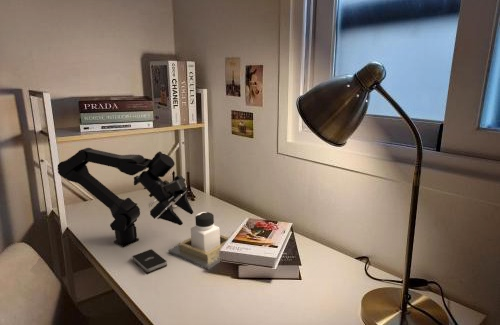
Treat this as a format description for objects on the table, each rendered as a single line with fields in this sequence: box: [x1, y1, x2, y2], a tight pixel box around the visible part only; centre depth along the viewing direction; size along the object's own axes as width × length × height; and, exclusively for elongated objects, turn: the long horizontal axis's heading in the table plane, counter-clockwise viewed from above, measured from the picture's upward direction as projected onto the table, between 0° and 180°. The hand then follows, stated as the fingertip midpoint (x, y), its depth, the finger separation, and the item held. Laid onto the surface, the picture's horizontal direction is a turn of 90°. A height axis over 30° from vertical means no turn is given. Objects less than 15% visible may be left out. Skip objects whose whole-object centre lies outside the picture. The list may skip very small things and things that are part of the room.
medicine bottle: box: [190, 211, 221, 252], centre depth 118 cm, size 7×7×12 cm
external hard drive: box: [131, 248, 168, 275], centre depth 112 cm, size 7×11×2 cm, turn 42°
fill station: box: [168, 234, 229, 270], centre depth 120 cm, size 18×18×3 cm
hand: (187, 218), depth 119 cm, fingers open, 9 cm apart
